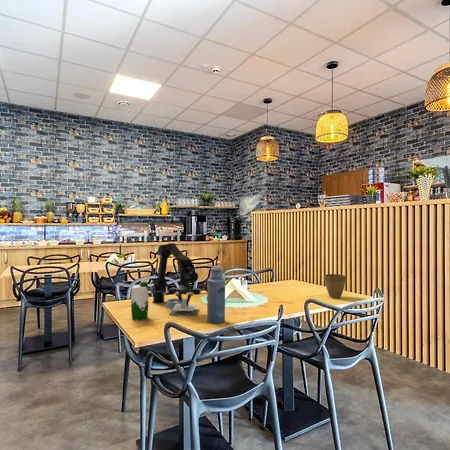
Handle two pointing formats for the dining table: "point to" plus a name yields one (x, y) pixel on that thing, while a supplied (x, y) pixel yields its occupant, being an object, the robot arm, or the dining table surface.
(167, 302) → the dish
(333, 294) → the plant pot
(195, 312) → the mat
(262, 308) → the dining table surface
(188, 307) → the cover
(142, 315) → the milk carton
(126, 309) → the dining table surface
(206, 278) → the ice cream bowl
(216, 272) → the bottle
